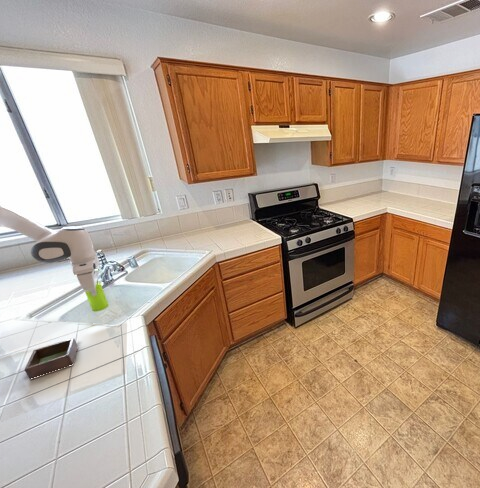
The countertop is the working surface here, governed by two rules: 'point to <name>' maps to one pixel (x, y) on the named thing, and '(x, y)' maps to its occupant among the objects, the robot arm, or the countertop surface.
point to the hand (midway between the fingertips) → (95, 290)
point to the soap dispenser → (97, 298)
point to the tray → (51, 358)
